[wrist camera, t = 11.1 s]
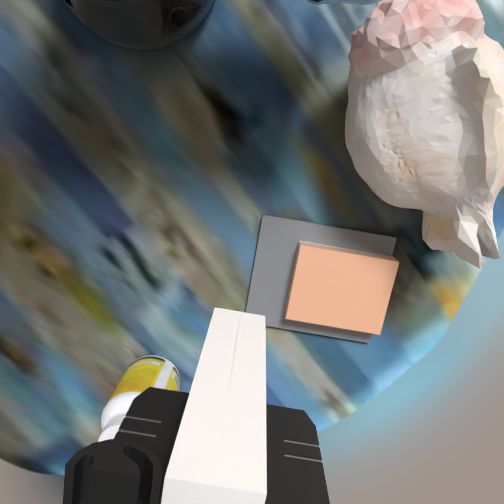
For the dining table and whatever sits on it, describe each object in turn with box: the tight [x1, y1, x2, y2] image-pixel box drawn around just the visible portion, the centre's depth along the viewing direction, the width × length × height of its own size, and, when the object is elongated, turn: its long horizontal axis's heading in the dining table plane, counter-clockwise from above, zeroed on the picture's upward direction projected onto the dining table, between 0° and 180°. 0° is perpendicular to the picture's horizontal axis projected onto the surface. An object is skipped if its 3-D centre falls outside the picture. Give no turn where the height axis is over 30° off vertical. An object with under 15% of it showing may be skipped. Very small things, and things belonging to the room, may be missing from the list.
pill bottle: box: [98, 355, 181, 442], centre depth 44 cm, size 6×6×12 cm
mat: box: [245, 214, 397, 343], centre depth 46 cm, size 14×12×1 cm
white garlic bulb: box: [345, 0, 504, 268], centre depth 35 cm, size 16×19×15 cm
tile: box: [285, 241, 399, 335], centre depth 45 cm, size 2×8×10 cm
